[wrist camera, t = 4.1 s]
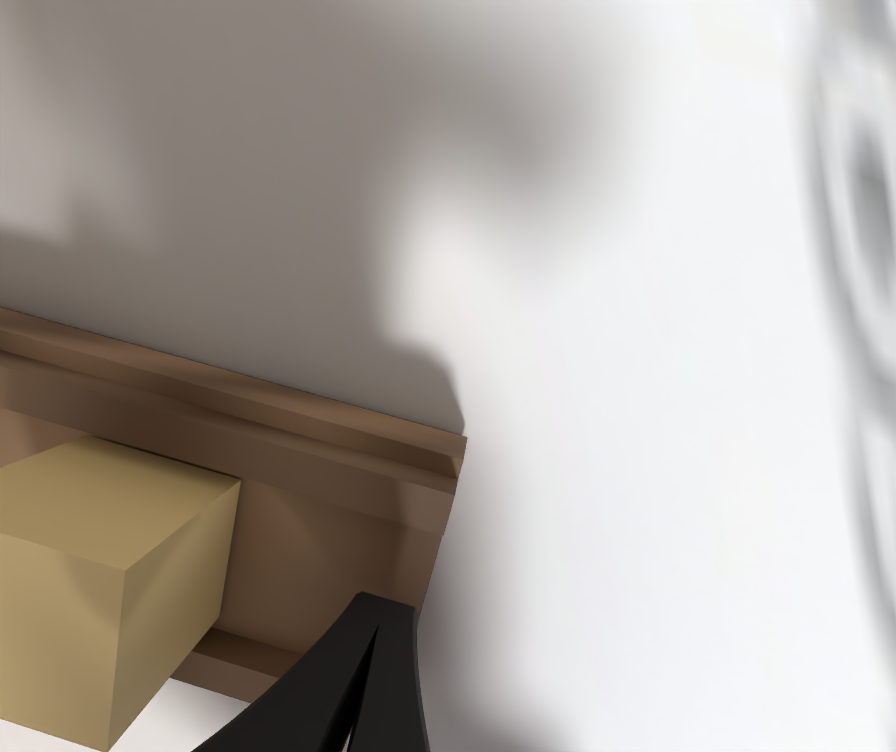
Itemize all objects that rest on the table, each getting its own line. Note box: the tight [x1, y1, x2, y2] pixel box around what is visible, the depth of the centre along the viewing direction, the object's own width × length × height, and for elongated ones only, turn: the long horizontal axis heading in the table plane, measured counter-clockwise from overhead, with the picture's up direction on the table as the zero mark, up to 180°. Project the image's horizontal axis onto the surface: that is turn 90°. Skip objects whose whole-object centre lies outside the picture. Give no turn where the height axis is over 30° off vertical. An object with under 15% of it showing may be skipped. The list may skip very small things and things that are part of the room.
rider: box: [0, 435, 241, 752], centre depth 10 cm, size 4×4×4 cm
